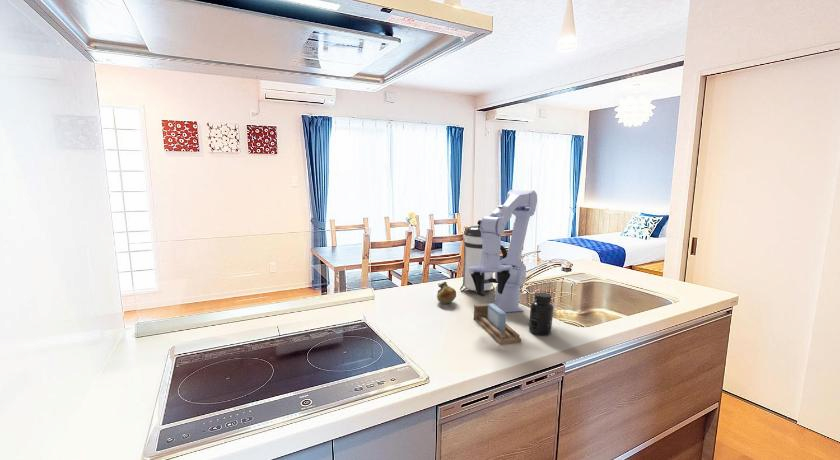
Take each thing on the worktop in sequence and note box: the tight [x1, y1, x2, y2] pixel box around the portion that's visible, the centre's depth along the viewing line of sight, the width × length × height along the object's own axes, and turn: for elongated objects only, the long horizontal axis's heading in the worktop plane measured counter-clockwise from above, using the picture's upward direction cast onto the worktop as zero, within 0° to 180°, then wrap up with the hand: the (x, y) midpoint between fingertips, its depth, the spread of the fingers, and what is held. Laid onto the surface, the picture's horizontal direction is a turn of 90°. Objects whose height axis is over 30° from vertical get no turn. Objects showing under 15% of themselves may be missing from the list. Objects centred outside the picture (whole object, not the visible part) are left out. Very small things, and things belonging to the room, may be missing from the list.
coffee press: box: [459, 219, 508, 297], centre depth 160 cm, size 17×16×30 cm
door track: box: [473, 302, 522, 345], centre depth 122 cm, size 20×7×5 cm, turn 14°
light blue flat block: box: [487, 303, 507, 332], centre depth 122 cm, size 9×2×6 cm, turn 14°
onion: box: [436, 281, 457, 305], centre depth 146 cm, size 8×8×8 cm
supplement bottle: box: [528, 292, 555, 336], centre depth 120 cm, size 7×7×12 cm
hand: (489, 293), depth 126 cm, fingers open, 7 cm apart
